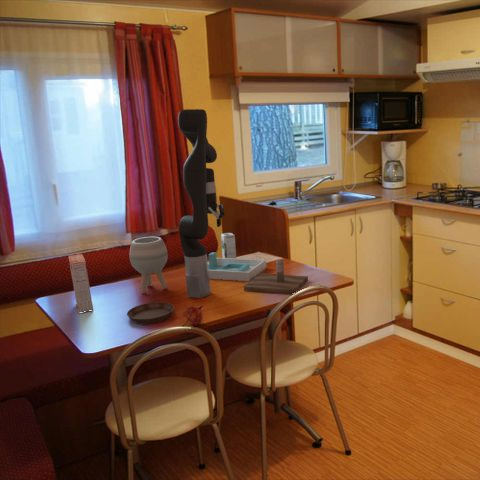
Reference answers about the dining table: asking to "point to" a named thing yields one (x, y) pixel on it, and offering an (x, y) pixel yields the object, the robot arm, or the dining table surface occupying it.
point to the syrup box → (228, 245)
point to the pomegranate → (193, 315)
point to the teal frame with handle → (226, 264)
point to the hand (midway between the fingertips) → (210, 226)
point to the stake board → (276, 282)
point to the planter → (148, 259)
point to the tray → (248, 275)
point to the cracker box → (80, 282)
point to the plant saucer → (150, 312)
